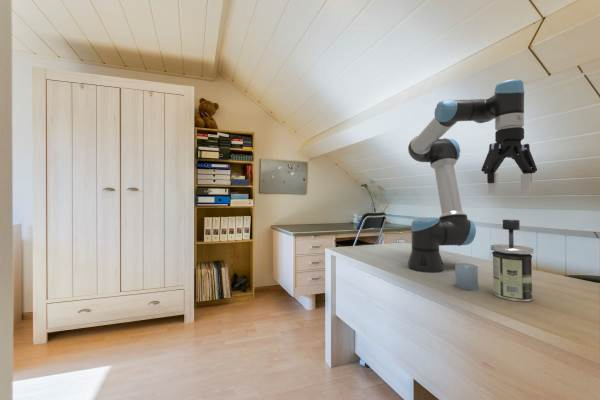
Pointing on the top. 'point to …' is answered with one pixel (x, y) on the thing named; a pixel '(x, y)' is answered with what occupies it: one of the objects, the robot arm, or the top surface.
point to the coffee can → (512, 276)
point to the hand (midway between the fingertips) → (509, 193)
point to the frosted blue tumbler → (466, 276)
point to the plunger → (511, 240)
